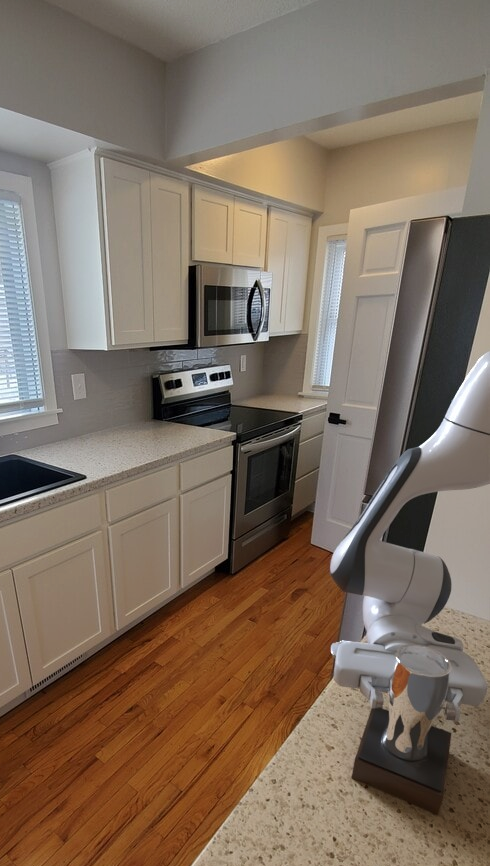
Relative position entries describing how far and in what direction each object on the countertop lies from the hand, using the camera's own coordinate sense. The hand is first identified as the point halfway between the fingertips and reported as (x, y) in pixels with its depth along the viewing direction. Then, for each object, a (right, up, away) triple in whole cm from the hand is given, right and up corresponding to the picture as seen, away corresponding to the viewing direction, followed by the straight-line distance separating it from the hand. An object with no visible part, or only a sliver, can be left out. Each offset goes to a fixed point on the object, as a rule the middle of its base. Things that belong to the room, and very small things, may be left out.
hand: (414, 711), depth 66 cm
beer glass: (0, -6, +4) cm, 7 cm away
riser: (+1, -10, +5) cm, 11 cm away
